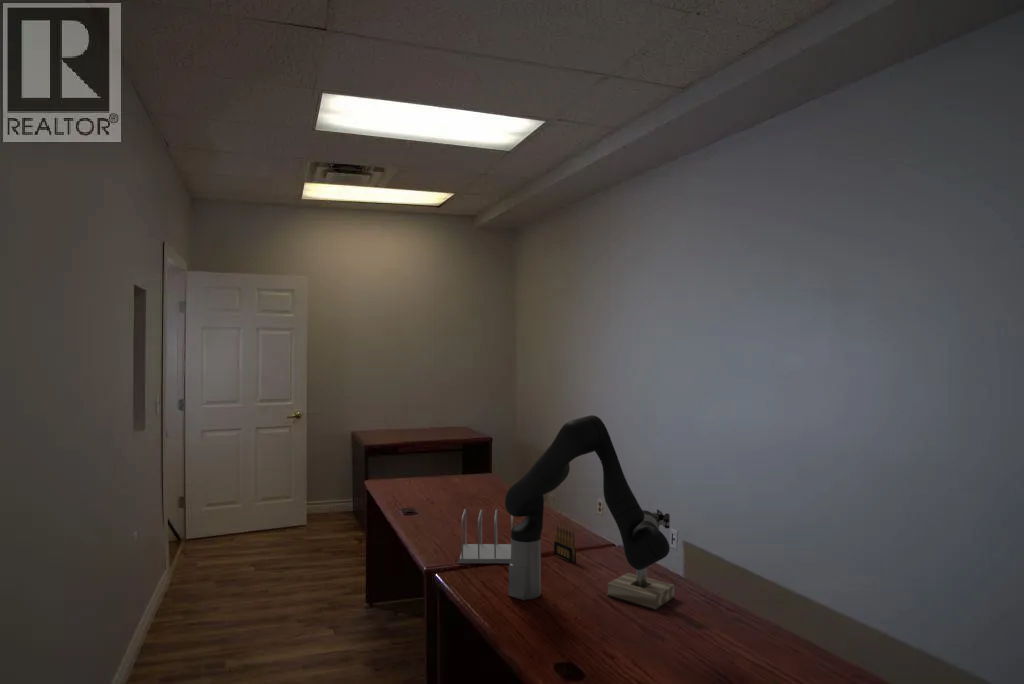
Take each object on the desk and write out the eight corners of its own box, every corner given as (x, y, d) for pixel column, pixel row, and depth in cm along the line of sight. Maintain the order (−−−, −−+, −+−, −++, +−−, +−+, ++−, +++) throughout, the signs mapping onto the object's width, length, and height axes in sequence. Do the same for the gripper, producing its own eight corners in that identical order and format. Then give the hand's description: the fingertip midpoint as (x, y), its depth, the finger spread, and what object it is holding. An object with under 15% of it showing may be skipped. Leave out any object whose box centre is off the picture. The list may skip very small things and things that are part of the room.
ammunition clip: (553, 554, 236) (553, 521, 236) (557, 554, 237) (558, 521, 237) (571, 563, 227) (572, 529, 227) (576, 562, 228) (576, 528, 228)
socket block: (655, 610, 188) (655, 596, 188) (607, 596, 198) (607, 583, 198) (674, 598, 197) (674, 584, 197) (627, 585, 207) (627, 572, 207)
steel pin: (643, 598, 195) (644, 548, 195) (633, 595, 197) (634, 546, 197) (648, 595, 197) (649, 545, 198) (638, 592, 199) (639, 543, 200)
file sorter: (530, 549, 243) (530, 507, 243) (531, 565, 226) (531, 520, 226) (463, 548, 243) (463, 506, 243) (459, 564, 226) (459, 519, 226)
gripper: (672, 516, 169) (668, 500, 185) (617, 512, 172) (617, 497, 188) (672, 544, 169) (667, 526, 185) (616, 541, 172) (617, 523, 188)
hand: (642, 512), depth 186 cm, fingers open, 8 cm apart
